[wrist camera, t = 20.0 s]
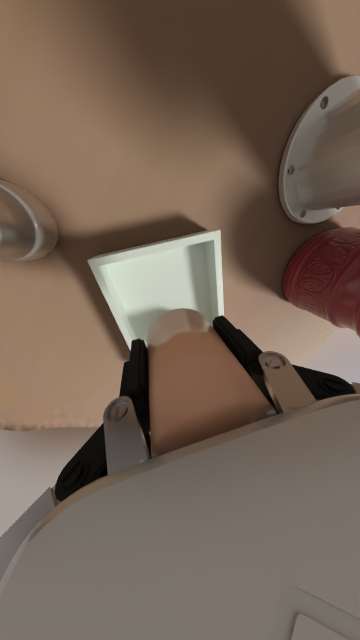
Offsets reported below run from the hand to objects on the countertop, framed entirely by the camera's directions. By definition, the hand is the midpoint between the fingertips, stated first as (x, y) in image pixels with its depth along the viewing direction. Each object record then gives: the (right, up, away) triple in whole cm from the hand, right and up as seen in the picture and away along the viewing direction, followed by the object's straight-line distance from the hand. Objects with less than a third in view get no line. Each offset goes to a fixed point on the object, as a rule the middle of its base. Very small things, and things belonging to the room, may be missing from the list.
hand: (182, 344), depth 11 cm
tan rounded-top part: (0, 0, +1) cm, 1 cm away
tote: (-2, +4, +14) cm, 14 cm away
